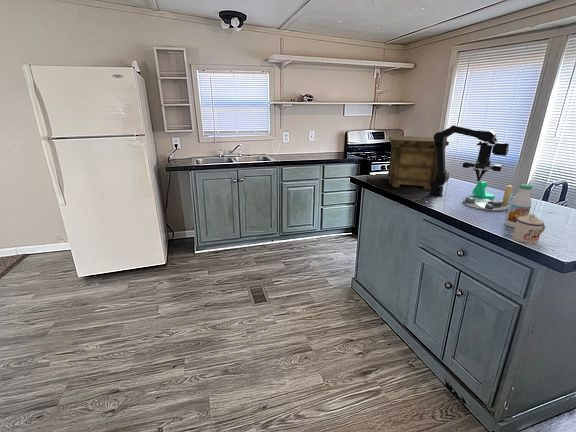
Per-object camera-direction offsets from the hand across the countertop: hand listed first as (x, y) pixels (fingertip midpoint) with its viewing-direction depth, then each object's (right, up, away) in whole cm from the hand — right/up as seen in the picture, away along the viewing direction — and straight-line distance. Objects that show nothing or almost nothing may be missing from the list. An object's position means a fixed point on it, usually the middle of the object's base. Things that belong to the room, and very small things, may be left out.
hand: (478, 181), depth 175 cm
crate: (-20, +3, +49) cm, 53 cm away
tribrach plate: (+3, -14, 0) cm, 14 cm away
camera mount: (+13, -9, +16) cm, 22 cm away
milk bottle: (-3, -25, -31) cm, 40 cm away
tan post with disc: (+5, -14, -6) cm, 17 cm away
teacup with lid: (-9, -31, -47) cm, 57 cm away
